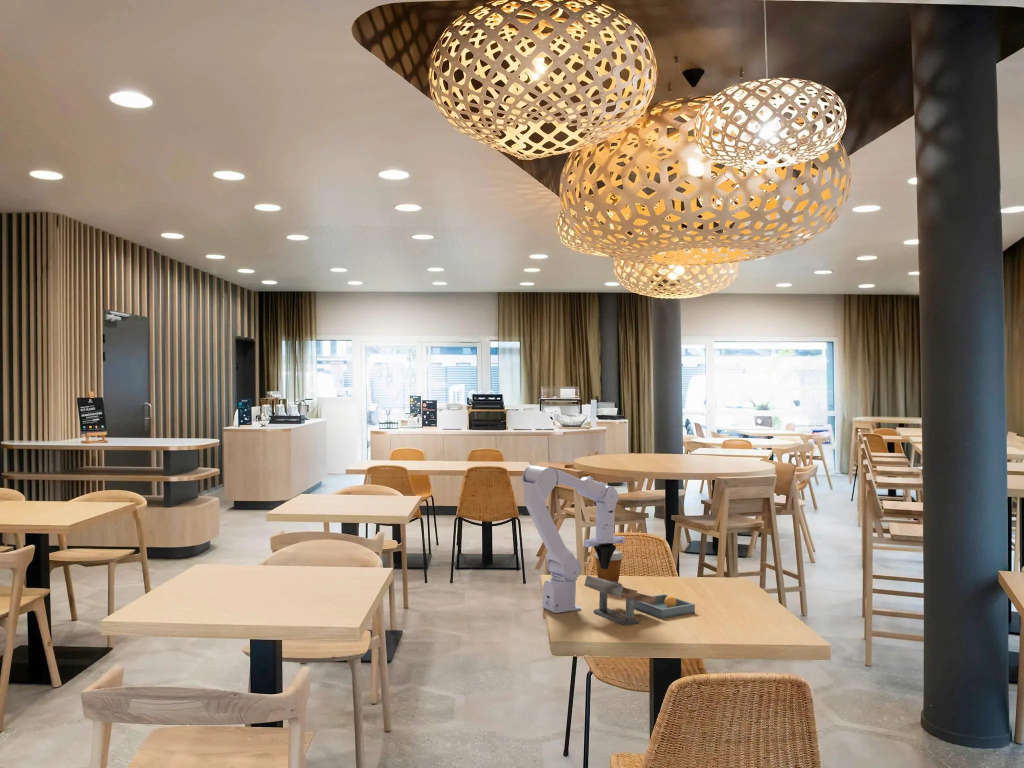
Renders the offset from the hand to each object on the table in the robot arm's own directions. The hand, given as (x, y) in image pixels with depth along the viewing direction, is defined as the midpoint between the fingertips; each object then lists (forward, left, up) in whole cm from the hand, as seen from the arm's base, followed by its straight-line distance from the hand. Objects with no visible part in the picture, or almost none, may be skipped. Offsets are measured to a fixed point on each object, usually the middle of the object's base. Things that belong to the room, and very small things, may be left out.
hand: (604, 568), depth 242 cm
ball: (+14, -15, -8) cm, 22 cm away
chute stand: (-7, -15, -10) cm, 20 cm away
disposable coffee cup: (+13, +14, -11) cm, 22 cm away
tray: (+11, -15, -10) cm, 21 cm away
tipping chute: (-6, -11, -4) cm, 13 cm away
